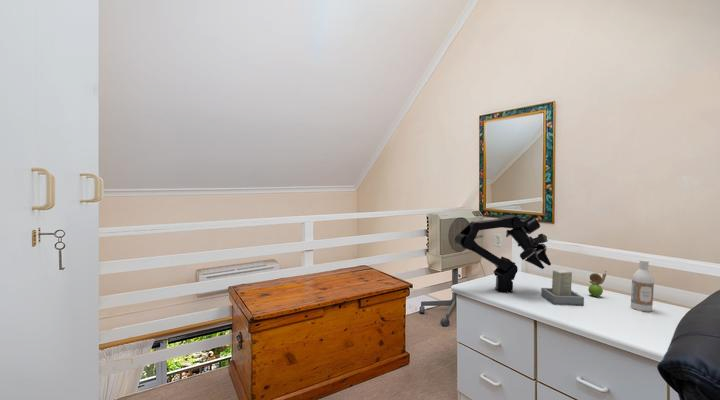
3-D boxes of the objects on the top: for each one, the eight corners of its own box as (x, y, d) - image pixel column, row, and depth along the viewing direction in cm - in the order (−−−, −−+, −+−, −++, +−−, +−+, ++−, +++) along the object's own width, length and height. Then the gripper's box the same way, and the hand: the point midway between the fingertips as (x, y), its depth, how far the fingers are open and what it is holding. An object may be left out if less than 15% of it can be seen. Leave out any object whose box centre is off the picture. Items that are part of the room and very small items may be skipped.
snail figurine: (605, 299, 157) (606, 272, 157) (588, 296, 161) (589, 270, 160) (604, 296, 162) (606, 269, 161) (588, 293, 165) (589, 267, 165)
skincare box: (563, 296, 157) (565, 269, 157) (571, 300, 153) (572, 271, 152) (550, 297, 156) (552, 269, 156) (558, 300, 152) (559, 272, 151)
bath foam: (634, 310, 143) (637, 261, 142) (627, 305, 150) (630, 258, 149) (655, 312, 141) (658, 262, 140) (647, 307, 148) (650, 259, 147)
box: (553, 304, 149) (554, 296, 149) (541, 295, 161) (541, 287, 161) (583, 305, 148) (584, 297, 148) (568, 296, 160) (569, 288, 160)
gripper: (528, 229, 154) (555, 259, 147) (542, 226, 168) (567, 253, 161) (509, 245, 160) (534, 274, 153) (524, 240, 174) (548, 267, 167)
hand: (547, 266), depth 158 cm, fingers open, 9 cm apart
